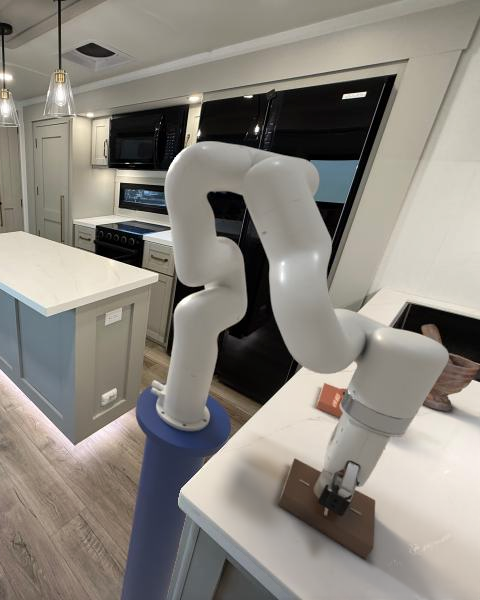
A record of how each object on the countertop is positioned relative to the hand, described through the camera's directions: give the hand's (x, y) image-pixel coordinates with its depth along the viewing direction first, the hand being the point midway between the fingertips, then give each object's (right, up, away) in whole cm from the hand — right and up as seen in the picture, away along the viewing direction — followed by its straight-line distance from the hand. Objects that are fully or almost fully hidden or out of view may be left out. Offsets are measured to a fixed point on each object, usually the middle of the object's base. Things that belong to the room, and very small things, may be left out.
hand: (333, 487), depth 52 cm
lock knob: (0, -2, +1) cm, 2 cm away
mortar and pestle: (+48, +5, +30) cm, 57 cm away
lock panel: (0, -5, +2) cm, 5 cm away
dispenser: (+24, +4, +25) cm, 35 cm away
